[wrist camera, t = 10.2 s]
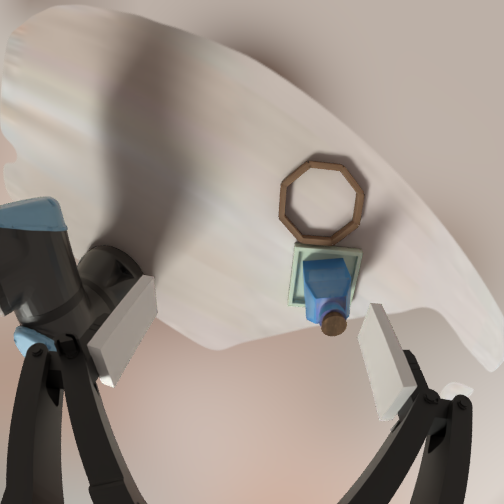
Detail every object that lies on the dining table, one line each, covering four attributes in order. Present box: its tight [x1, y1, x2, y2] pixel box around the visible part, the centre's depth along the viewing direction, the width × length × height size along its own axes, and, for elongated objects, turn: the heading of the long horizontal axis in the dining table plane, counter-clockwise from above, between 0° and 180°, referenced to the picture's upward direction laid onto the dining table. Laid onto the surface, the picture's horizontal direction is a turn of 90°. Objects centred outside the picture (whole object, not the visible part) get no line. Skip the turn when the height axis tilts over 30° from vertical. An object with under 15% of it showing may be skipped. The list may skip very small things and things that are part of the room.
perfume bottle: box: [303, 258, 351, 336], centre depth 37 cm, size 6×6×12 cm
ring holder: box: [278, 161, 364, 246], centre depth 38 cm, size 12×12×1 cm
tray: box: [288, 243, 363, 307], centre depth 43 cm, size 10×10×2 cm
